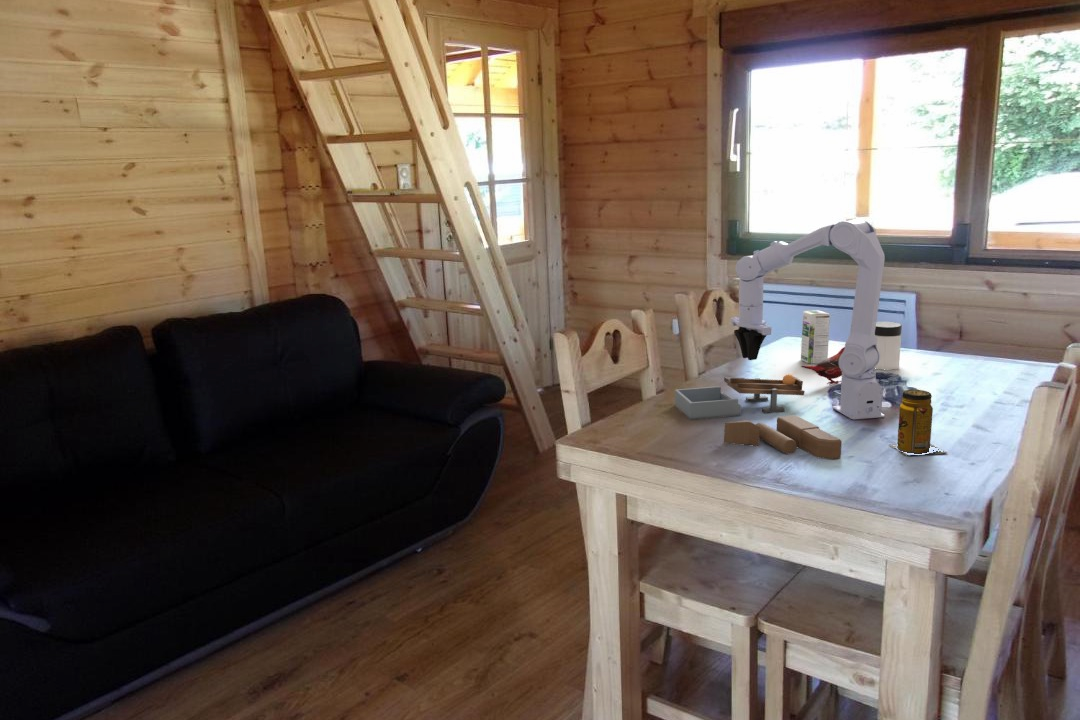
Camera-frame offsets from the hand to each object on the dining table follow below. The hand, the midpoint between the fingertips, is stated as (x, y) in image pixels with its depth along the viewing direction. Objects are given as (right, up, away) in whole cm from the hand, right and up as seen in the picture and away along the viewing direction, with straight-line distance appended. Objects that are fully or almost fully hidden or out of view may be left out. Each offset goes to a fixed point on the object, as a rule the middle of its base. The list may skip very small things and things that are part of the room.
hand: (749, 358), depth 208 cm
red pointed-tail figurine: (+22, -7, +8) cm, 25 cm away
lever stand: (+2, -11, -7) cm, 14 cm away
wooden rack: (+1, -7, -7) cm, 10 cm away
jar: (+43, -2, +25) cm, 50 cm away
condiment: (+24, -19, -40) cm, 50 cm away
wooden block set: (-3, -19, -37) cm, 42 cm away
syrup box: (+27, -1, +33) cm, 43 cm away
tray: (-13, -12, -9) cm, 20 cm away
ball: (+7, -5, -8) cm, 12 cm away
